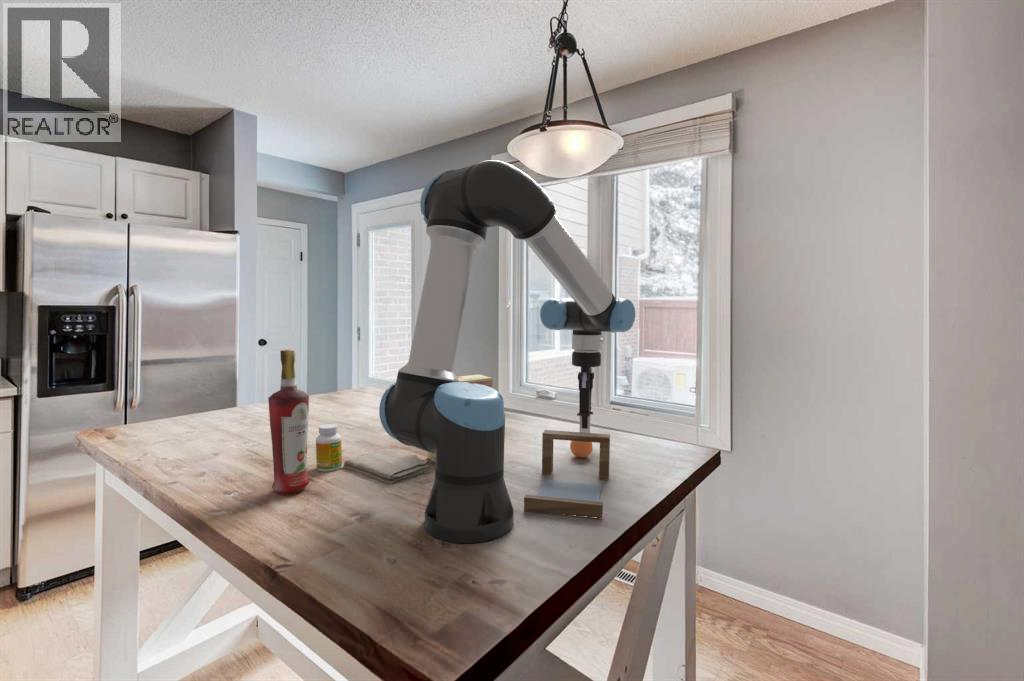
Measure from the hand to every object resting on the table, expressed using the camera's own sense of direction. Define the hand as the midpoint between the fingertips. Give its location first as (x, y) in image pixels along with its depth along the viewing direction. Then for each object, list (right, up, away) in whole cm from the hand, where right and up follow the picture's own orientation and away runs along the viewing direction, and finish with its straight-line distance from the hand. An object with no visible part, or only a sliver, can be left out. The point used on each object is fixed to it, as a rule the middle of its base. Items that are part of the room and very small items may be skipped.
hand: (584, 439), depth 131 cm
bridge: (-5, -3, -22) cm, 23 cm away
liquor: (-63, -4, -33) cm, 71 cm away
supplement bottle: (-61, -3, -19) cm, 64 cm away
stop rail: (-10, -5, -42) cm, 44 cm away
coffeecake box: (-32, -3, -9) cm, 33 cm away
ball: (-2, 0, -9) cm, 10 cm away
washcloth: (-48, -4, -19) cm, 51 cm away
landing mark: (-8, -4, -33) cm, 34 cm away
